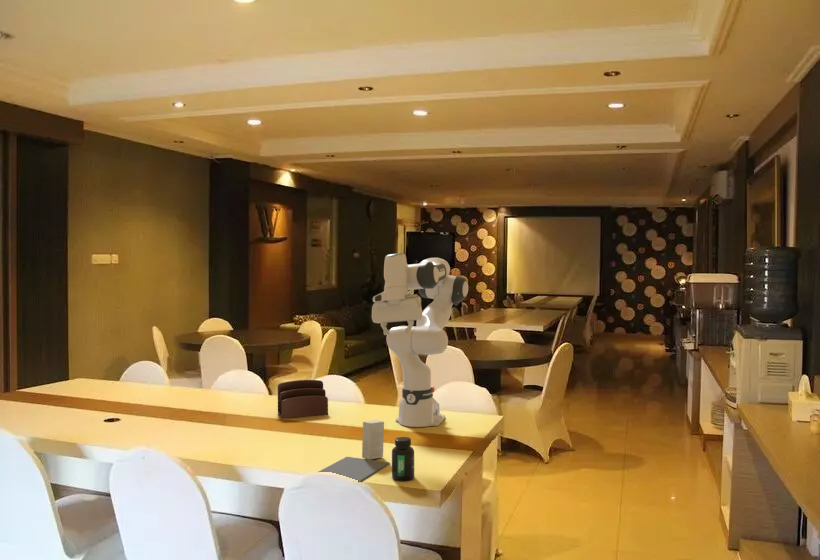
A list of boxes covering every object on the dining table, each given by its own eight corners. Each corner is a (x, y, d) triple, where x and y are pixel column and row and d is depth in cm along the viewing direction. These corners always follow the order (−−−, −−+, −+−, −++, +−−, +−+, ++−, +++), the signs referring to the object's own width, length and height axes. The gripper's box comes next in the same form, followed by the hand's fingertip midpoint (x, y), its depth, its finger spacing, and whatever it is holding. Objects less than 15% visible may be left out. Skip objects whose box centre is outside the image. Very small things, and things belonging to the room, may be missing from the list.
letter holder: (277, 414, 298) (277, 381, 298) (323, 410, 305) (322, 378, 305) (281, 419, 289) (281, 385, 288) (328, 415, 296) (328, 382, 295)
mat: (346, 458, 233) (346, 456, 233) (389, 463, 226) (389, 462, 226) (314, 475, 215) (314, 473, 215) (359, 482, 208) (359, 480, 208)
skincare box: (374, 455, 236) (376, 419, 236) (383, 457, 233) (384, 421, 233) (361, 457, 232) (362, 421, 232) (369, 460, 228) (371, 423, 229)
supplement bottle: (403, 483, 207) (403, 443, 207) (387, 478, 212) (387, 439, 211) (419, 477, 212) (418, 438, 212) (402, 472, 217) (402, 434, 216)
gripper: (425, 294, 254) (426, 332, 252) (378, 299, 264) (379, 336, 262) (416, 293, 248) (417, 331, 246) (369, 298, 259) (369, 335, 257)
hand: (397, 334), depth 254 cm, fingers open, 8 cm apart
